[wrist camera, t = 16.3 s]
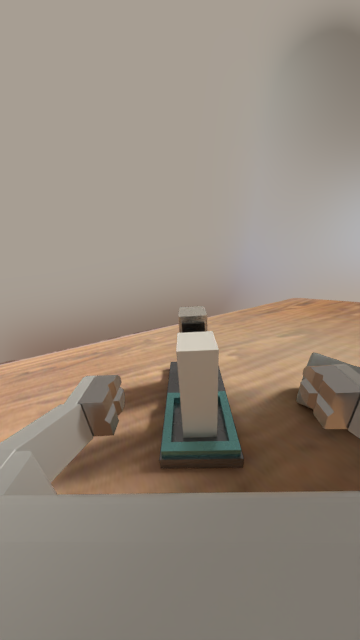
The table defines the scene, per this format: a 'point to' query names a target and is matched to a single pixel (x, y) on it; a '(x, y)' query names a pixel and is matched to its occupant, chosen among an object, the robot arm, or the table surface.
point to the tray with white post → (173, 445)
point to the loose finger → (198, 383)
